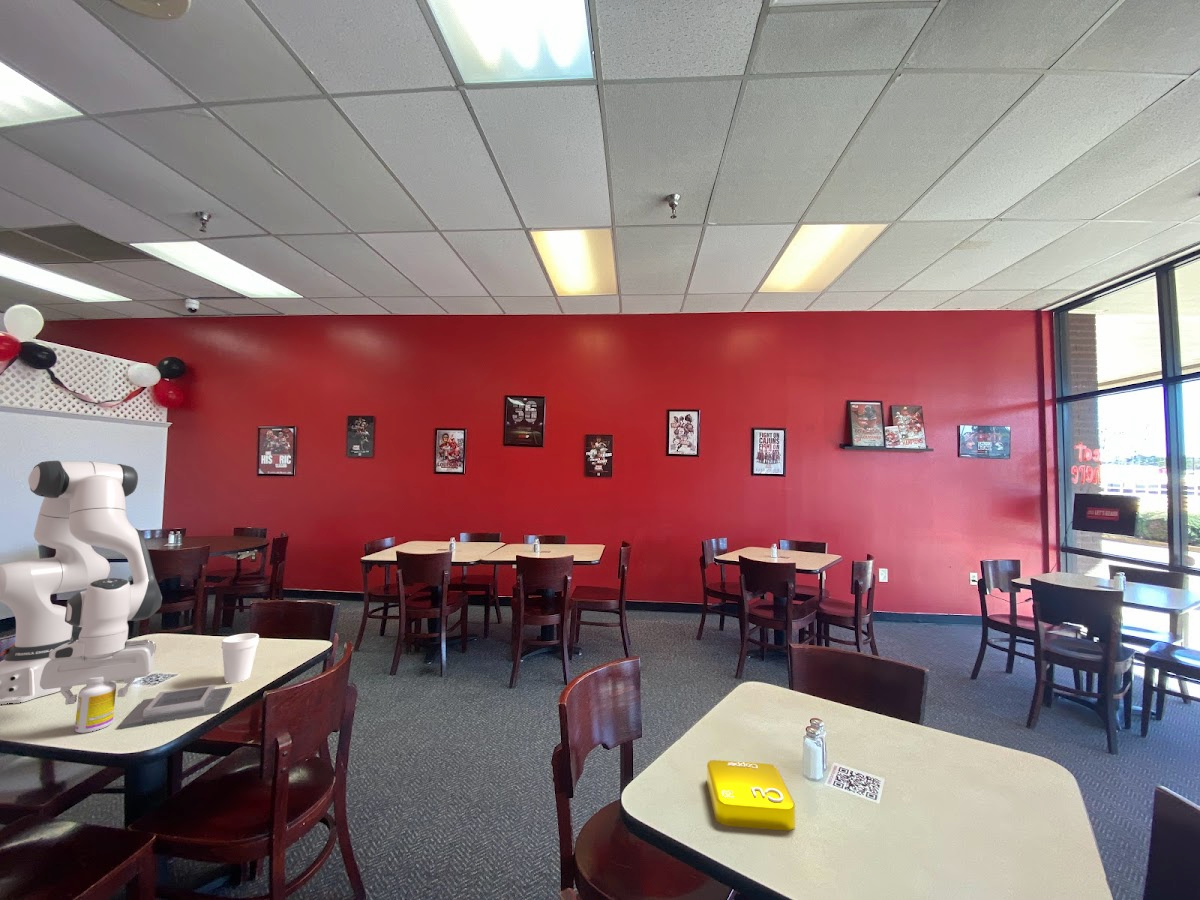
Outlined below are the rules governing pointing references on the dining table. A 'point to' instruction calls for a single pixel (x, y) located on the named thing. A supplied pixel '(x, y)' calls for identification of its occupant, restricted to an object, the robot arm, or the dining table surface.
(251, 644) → the foam cup
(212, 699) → the grey tray
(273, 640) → the dining table surface
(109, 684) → the supplement bottle
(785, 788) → the element tile
